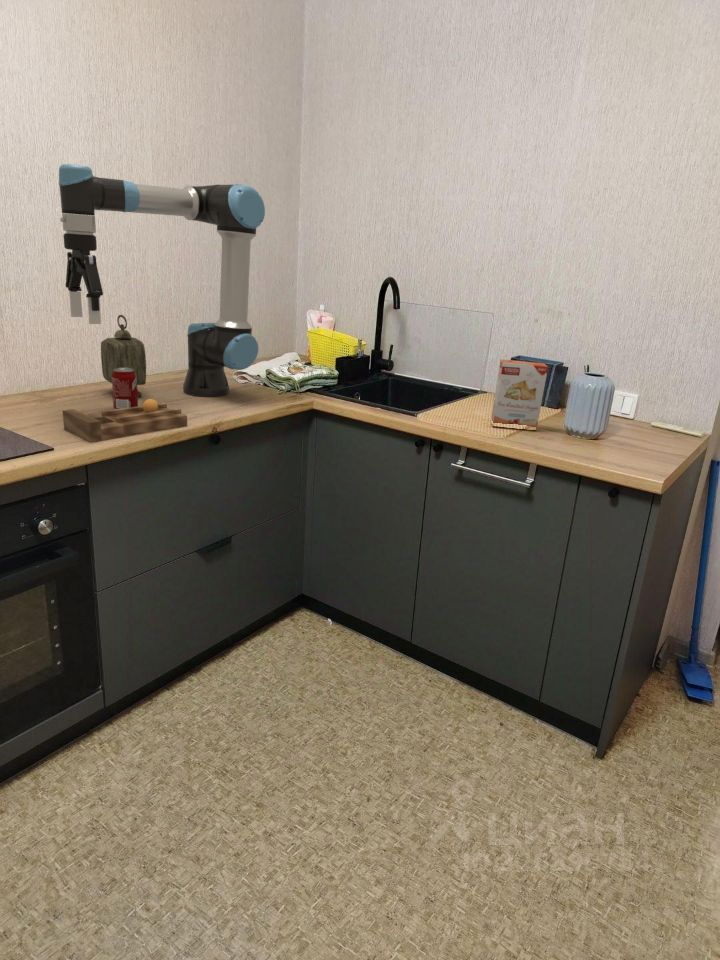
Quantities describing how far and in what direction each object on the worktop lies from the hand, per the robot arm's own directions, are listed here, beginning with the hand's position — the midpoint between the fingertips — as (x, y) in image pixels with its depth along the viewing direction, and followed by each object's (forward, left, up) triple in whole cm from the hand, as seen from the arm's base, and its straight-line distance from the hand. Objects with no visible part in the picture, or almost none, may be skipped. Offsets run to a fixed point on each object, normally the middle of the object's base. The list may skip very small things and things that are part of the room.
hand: (85, 320), depth 170 cm
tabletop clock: (-22, -23, -27) cm, 42 cm away
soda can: (-13, -6, -27) cm, 31 cm away
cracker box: (-102, +73, -27) cm, 129 cm away
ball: (-11, +11, -22) cm, 27 cm away
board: (-4, +11, -27) cm, 29 cm away
